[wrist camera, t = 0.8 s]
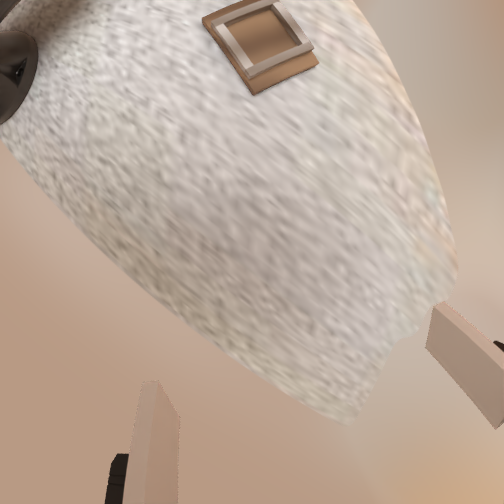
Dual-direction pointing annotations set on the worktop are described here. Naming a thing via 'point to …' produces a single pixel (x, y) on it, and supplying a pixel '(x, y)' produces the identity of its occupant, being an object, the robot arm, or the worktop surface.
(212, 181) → the worktop surface
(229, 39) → the socket board
